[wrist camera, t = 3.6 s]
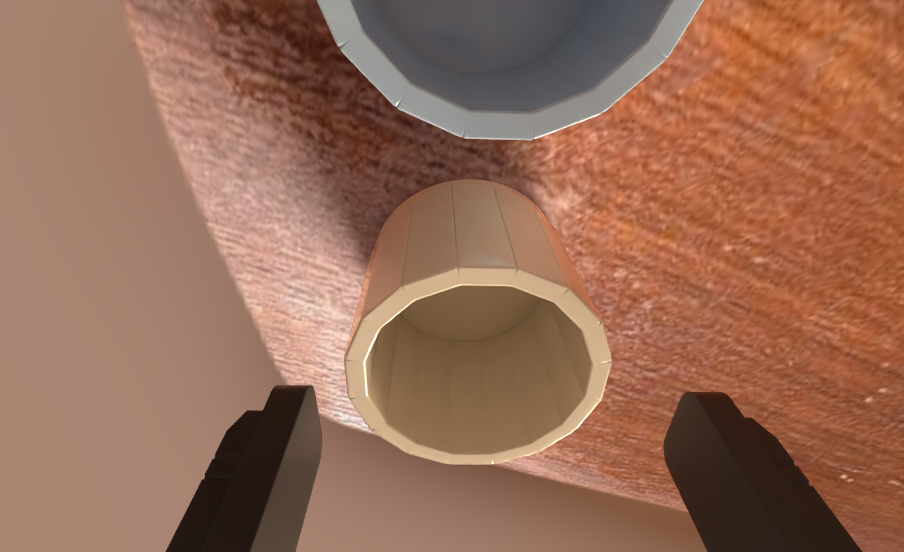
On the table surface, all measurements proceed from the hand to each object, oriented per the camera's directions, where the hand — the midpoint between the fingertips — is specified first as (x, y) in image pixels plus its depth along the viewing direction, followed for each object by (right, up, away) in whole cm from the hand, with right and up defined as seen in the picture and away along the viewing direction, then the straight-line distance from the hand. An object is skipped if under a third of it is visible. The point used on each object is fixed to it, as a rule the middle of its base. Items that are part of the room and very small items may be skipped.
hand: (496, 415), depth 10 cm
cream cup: (0, +3, +6) cm, 7 cm away
